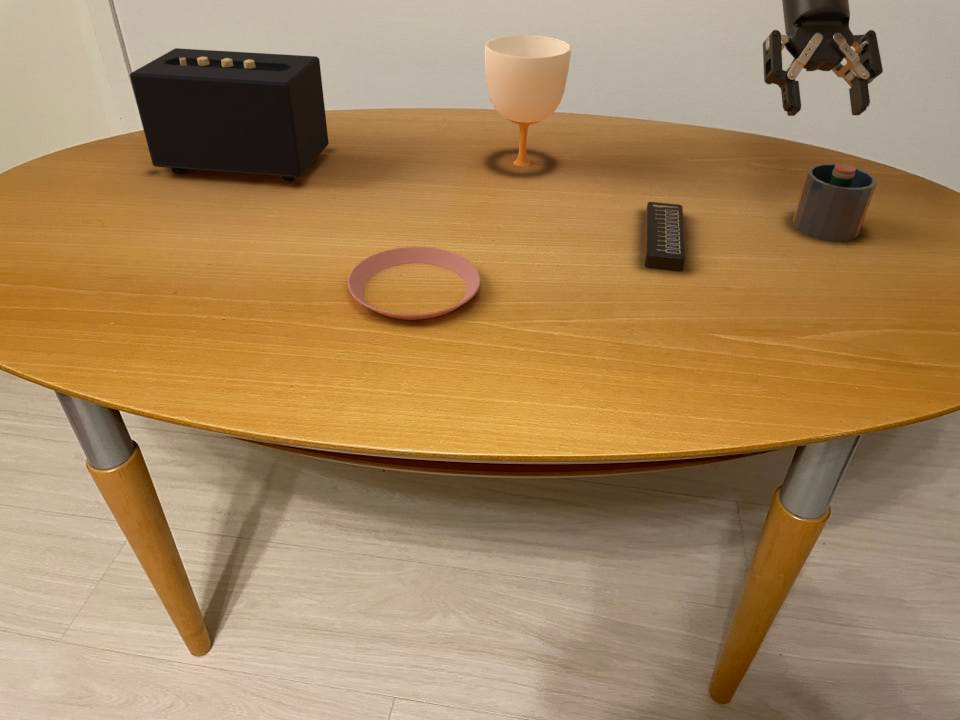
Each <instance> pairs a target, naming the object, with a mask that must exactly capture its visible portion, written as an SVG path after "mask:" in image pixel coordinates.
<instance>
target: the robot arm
mask: <svg viewBox="0 0 960 720" xmlns="http://www.w3.org/2000/svg"><path fill="white" fill-rule="evenodd" d="M849 1H850V0H781V3H782V4H781V5H782V13H783V21H784V31H785V34H781V31H780V30H778V29H774V30H772V31H771V33H770V34H769V35H768V36H767V37H766V39H765V40H764V41H763V42H762V59H763V81H764V83H765V84H766V85H772V84H773V85H777V86H778V87H779V89H780V94H781V100H782V101H781V102H782V103H781V104H782V109H783V111H784V112H786V114H787V116H788V117H795V116H796V115H797V114H798V113H799V112H801V110H802V100H801V90H800V82H799V80H796V79H797V78H798V76H799V74H800V73H801V72H802V70H803V69H804V70H805V72H815V71H821V72H831V71H832V72H833V73H834V74H835V76H836V77H838V78H842V79H843V80H844V81H845V83H846V84H848V86H849V87H850V88H848V93H849V102H850V110H851V111H850V112H851V115H852V116H860V115H862V114H863V113H864V112H866V111H867V108H868V107H869V106H870V104H871V99H870V89H869V84H871V83H872V82H873V81H874V80H875V79H876V78H878V77H879V76H880V75H882V74H883V72H884V69H883V64H882V63H883V62H882V59H881V58H882V57H881V53H880V47H879V43H878V37H877V32H876V31H875V30H873V29H869V30H868V31H867V32H865V33H864V34H853V32H852V31H851V28H850V18H851V10H850V2H849ZM784 49H786V50H787V52H788V53H789V54H790V55H791V57H793V60H792V61H791V63H790V64H789V65H788V67H787V69H786V70H785V69H783V50H784ZM843 60H845V61H846V64H842V62H843Z"/></svg>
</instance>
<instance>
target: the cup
mask: <svg viewBox="0 0 960 720" xmlns="http://www.w3.org/2000/svg"><path fill="white" fill-rule="evenodd" d="M571 54H572V45H571V44H569V43H568V42H566V41H564V40H561V39H558V38H556V37H551V36H544V35H534V34H515V35H514V34H513V35H504V36H498V37H494V38H492V39H489V40H487V41H486V43H485V45H484V71H485V72H484V73H485V82H486V83H485V84H486V91H487V93H488V98H489V101H490V103H491V104H492V106H493V108H494V109H495V111H496V112H497V114H498V115H500V117H501V118H503V119H505V120H507V121H509V122H511V123H514V124H516V125H518V126H519V146H518V154H517V158H516V159H515V160H514V161H513V162H512V164H513V165H514V166H516V167H521V168H522V167H523V168H524V167H528V166H531V161H530V160H528V158H527V141H528V140H527V137H528V130H529V127H530V126H531V125H533V124H537V123H541V122H543V121H545V120H546V119H548V118H549V117H551V116H552V115H553V114H554V113H555V111H556V110H557V109H558V107H559V106H560V105H561V102H562V100H563V97H564V94H565V89H566V85H567V81H568V76H569V70H570V62H571Z"/></svg>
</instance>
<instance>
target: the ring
mask: <svg viewBox="0 0 960 720" xmlns="http://www.w3.org/2000/svg"><path fill="white" fill-rule="evenodd" d="M403 265H429V266H436V267H440V268H443V269H445V270H448V271H451V272H452V273H454V274H455V275H457V276H458V277H459V278H460V279H461V280H462V281H463V283H464V286H465V293H464V295H463V297H462V299H461V300H460V301H459V302H458V303H457V304H455V305H452V306H450V307H447V308H444V309H440V310H436V311H431V312H423V313H399V312H393V311H386V310H383V309H379V308H377V307H374V306H372V305H371V304H370V303H369V302H368V301H367V299H366V297H365V293H364V292H365V287H366V284H367V283H368V282H369V280H371V278H373V277H374V276H375V275H377V274H379V273H380V272H382V271H384V270H385V271H386V270H388V269H390V268H394V267H398V266H403ZM481 281H482V280H481V273H480V271H479V270H478V268H477V267H476V265H475V264H474V263H473V262H472V261H470V260H469V259H467V258H465V256H463V255H460V254H458V253H456V252H454V251H450V250H447V249H444V248H437V247H431V246H404V247H395V248H391V249H386V250H382V251H379V252H377V253H374V254H371V255H370V256H368V257H366V258H364V259H362V260H361V261H359V262H358V263H357V264H356V265H355V266H354V267H353V268H352V270H351V271H350V273H349V275H348V276H347V288H348V291H349V293H350V294H351V296H352V297H353V299H354V300H356V301H357V302H358V303H359V304H361V305H362V306H364V307H366V308H368V309H369V310H371V311H373V312H375V313H377V314H379V315H381V316H385V317H388V318H392V319H398V320H405V321H408V320H409V321H410V320H411V321H413V320H415V321H416V320H417V321H418V320H427V319H433V318H437V317H441V316H444V315H446V314H449V313H451V312H453V311H455V310H457V309H458V308H459V307H462V306H463V305H465V304H466V303H467V302H470V300H472V299H473V298H474V297H475V296H476V294H477V293H478V291H479V289H480V287H481V283H482V282H481Z"/></svg>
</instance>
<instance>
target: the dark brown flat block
mask: <svg viewBox="0 0 960 720" xmlns="http://www.w3.org/2000/svg"><path fill="white" fill-rule="evenodd" d="M644 218H645V220H644V221H645V224H644V252H643V253H644V256H643V267H644V268H646V269H651V270H660V271H661V270H663V271H670V272H671V271H672V272H683V271H684V267H685V263H686V258H687V257H686V240H685V225H684V210H683V205H682V204H679V203H678V204H677V203H669V202H658V201H657V202H656V201H647V204H646V210H645V217H644Z"/></svg>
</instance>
